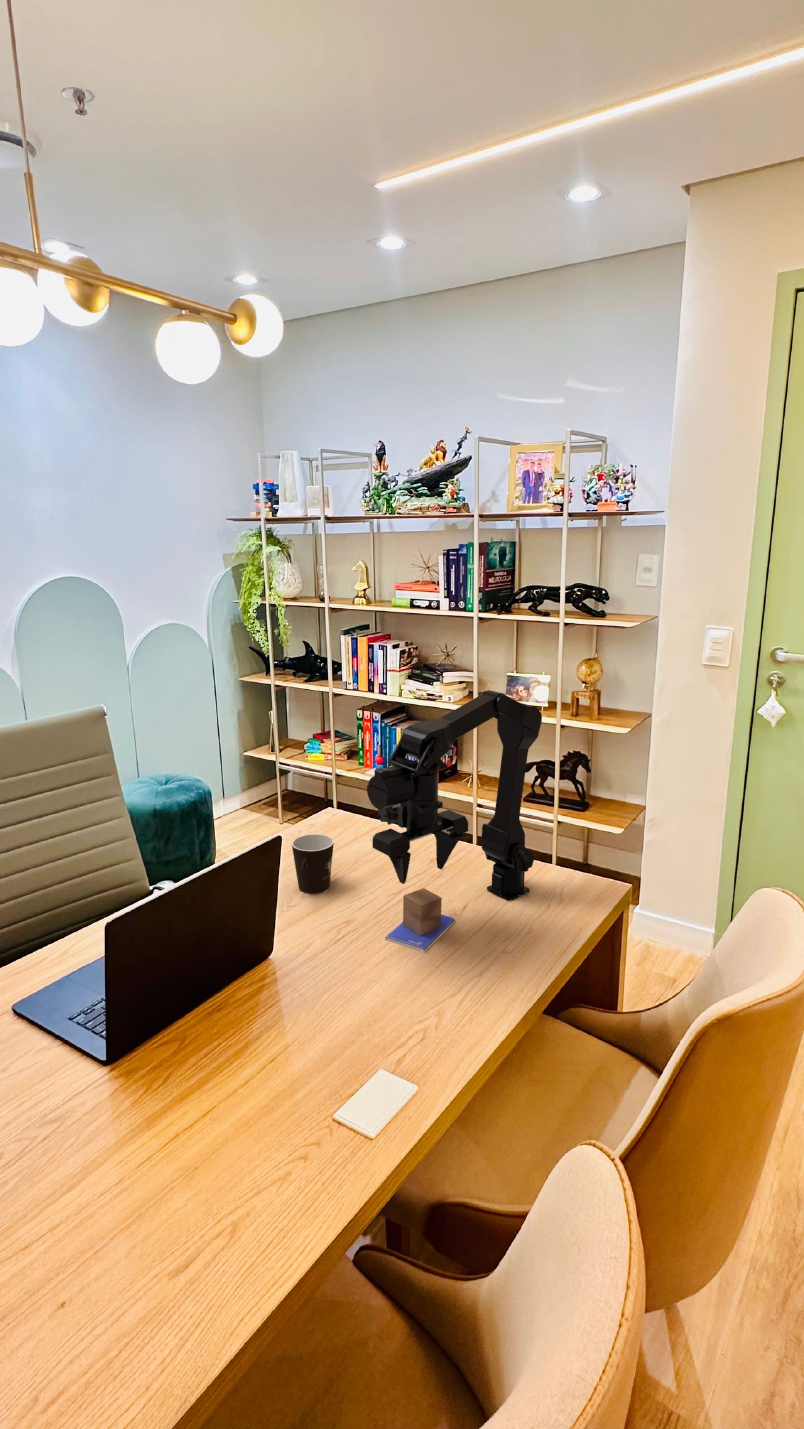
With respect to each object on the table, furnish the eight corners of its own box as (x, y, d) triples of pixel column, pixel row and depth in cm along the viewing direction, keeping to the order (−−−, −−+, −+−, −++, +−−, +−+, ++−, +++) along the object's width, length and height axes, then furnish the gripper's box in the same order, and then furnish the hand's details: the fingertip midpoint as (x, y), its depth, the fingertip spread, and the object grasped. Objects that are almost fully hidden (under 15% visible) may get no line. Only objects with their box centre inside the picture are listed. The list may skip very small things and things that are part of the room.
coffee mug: (312, 873, 168) (311, 830, 165) (343, 884, 163) (342, 840, 160) (274, 894, 158) (272, 849, 156) (305, 906, 154) (303, 859, 151)
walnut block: (423, 916, 148) (423, 887, 147) (440, 927, 144) (441, 897, 143) (402, 924, 145) (403, 895, 143) (420, 935, 141) (421, 905, 140)
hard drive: (424, 948, 137) (455, 917, 148) (384, 935, 141) (417, 907, 152) (424, 955, 138) (455, 925, 148) (384, 943, 142) (417, 914, 152)
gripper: (430, 773, 150) (429, 848, 154) (353, 795, 139) (354, 875, 143) (471, 788, 142) (469, 866, 146) (392, 812, 131) (392, 897, 134)
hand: (421, 875), depth 142 cm, fingers open, 9 cm apart
